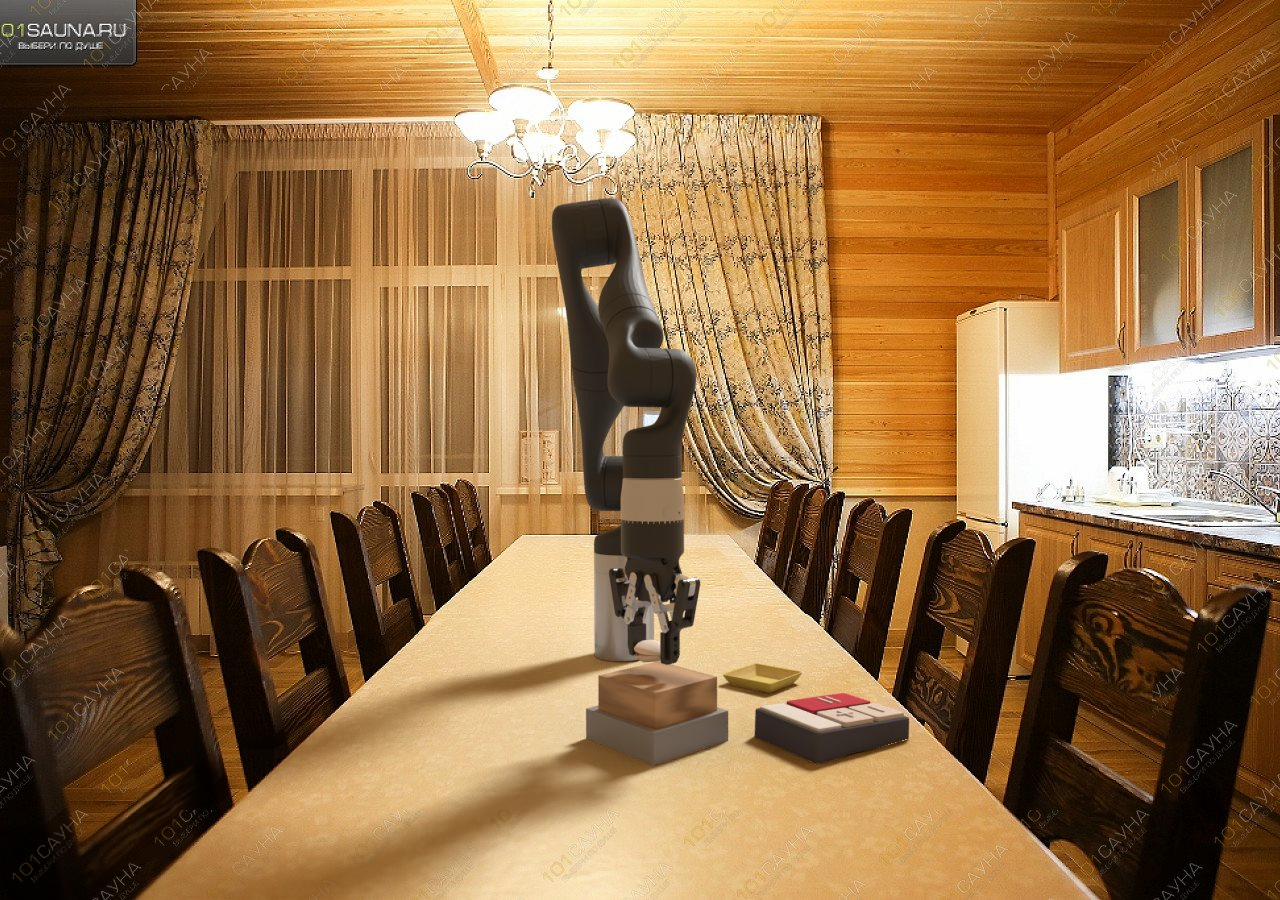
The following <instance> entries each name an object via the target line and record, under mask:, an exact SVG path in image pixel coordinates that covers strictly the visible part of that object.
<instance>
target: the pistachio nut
mask: <svg viewBox="0 0 1280 900" xmlns="http://www.w3.org/2000/svg"><path fill="white" fill-rule="evenodd" d="M634 650H635V652H637V653H635V654H634V657H635V658H636V659H638V660H637V661H640V662H642V663H654V662H658V661H660V641H659V640H656V639H654V640H644V641H641V642H639V643H638V644H637V645H636V646H635V647H634ZM660 662H661V661H660Z"/></svg>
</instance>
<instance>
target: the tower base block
mask: <svg viewBox="0 0 1280 900" xmlns="http://www.w3.org/2000/svg"><path fill="white" fill-rule="evenodd" d="M585 738H586V739H587V740H588V741H591V742H594V743H596V744H599V745H601V746H604V747H606V748H609V749H612V750H613V751H616V752H619V753H621V754H623V755H626V756H629V757H631V758H633V759H636V760H639V761H641V762H644V763H646V764H648V765H651V766H653V767H655V766H658V765H661V764H664V763H666V762H669V761H672V760H676V759H678V758H681V757H685V756H687V755H689V754H690V755H691V754H693V753H697V752H699V751H702V750H705V749H708V748H711V747H714V746H716V745H719V744H723V743H725V742H728V741H729V710H728V709H725V708H720V707H718V706H717V711H714V712H710V713H707V714H704V715H701V716H697V717H694V718H691V719H687V720H684V721H681V722H677V723H674V724H671V725H668V726H664V727H661V728H658V729H654V728H651V727H648V726H645V725H643V724H640V723H637V722H634V721H631V720H629V719H626V718H623V717H620V716H617V715H614V714H612V713H609V712H606V711H603V710H600V709H598V705H595V706H591V707H585Z"/></svg>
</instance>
